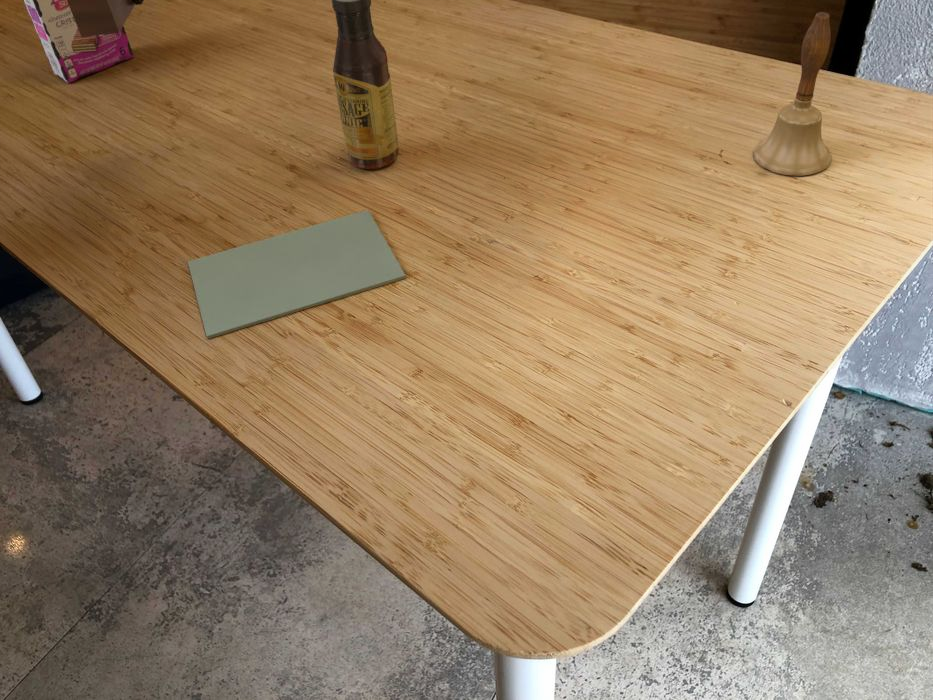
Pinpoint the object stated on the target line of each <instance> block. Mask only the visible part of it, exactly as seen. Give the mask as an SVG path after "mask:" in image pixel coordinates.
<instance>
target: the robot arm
mask: <svg viewBox="0 0 933 700" xmlns="http://www.w3.org/2000/svg"><path fill="white" fill-rule="evenodd" d="M144 1H145V0H133V3H134V4H135V6H138V5H142V4H143V3H144Z"/></svg>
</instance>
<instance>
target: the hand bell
mask: <svg viewBox="0 0 933 700" xmlns="http://www.w3.org/2000/svg"><path fill="white" fill-rule="evenodd" d="M830 45H831V25H830V14H829V13H828V12H826V11H825V12H824V11H819V12H817V13H816V14H815V16H814V18H813V20H812V22H811V24H810V25H809V27H808V28H807V31H806V33H805V35H804V37H803V40H802V45H801V52H800V65H801V75H800V80H799V82H798V87H797V91H796V94H795V98H794V102H793V103H790V104H787V105H784V106H783V107H782V108H780V110H779V111H778V114H777V117H776V120H775V123H774V126H773V128H772V130H771V131H770V133H769V134H768V135H767V136H766V137H765V138H764V139H761V140H760V141H759V142H758V143H757V145H756V146H755V147H754V149H753V153H752V155H753V159H754V161H755V162H756V163H757V164H758V165H759V166H760V167H762V168H764V169H766V170H768V171H770V172H773V173H775V174H780V175H784V176H798V177H799V176H800V177H802V176H809V175H810V176H811V175H814V174H819V173H820V172H822V171H824V170H826V169H827V168H828V167H829V166H830V165H831V163H832V159H833V155H832V153H831V151H830V149H829V147H828V146H827V145H826V144H825V142H824V140H823V136H822V122H823V114H822V111H821V110H820V109H819V108H817V107H815V106H813V105H812V102H813V101H812V100H813V98H814V91H815V87H816V82H817V77H818V74H819V72H820V70H821V69H822V66H824V62H825V61H826V58H827V56H828V54H829V53H828V52H829V49H830Z"/></svg>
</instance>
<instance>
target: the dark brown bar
mask: <svg viewBox="0 0 933 700" xmlns="http://www.w3.org/2000/svg"><path fill="white" fill-rule="evenodd" d="M67 2H68V4H69V7H70V9H71V12H72V14H73V17H74V19H75V22H76V24H77V27H78V29H79V32H80V34H81V37H86V36H95V35H105V34H115V33H119V32H120V30H121V28H122V27H123V26H124V25H125V23H126V22H127V20H128V18H129V16H130V15H131V13H132V11H133V10H134V8H135V6H136V4H134V3H133V0H67Z"/></svg>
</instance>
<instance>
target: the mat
mask: <svg viewBox="0 0 933 700" xmlns="http://www.w3.org/2000/svg"><path fill="white" fill-rule="evenodd" d="M187 264H188V268H189V272H190V276H191V280H192V284H193V288H194V292H195V296H196V300H197V304H198V308H199V312H200V316H201V321H202V323H203V327H204V332H205V336H206V339H207V340H209V339H213V338H217V337H220V336H222V335H226V334H230V333H233V332H235V331H238V330H239V331H240V330H242V329H246V328H248V327H251V326H255V325H258V324H260V323H261V324H262V323H264V322H268V321H271V320H274V319H278V318H280V317H285V316H287V315H291V314H294V313H297V312H300V311H304V310H307V309H310V308H314V307H317V306H320V305H324V304H327V303H330V302H334V301H337V300H339V299H343V298H346V297H350V296H353V295H356V294H359V293H362V292H366V291H369V290H372V289H376V288H379V287H382V286H385V285H388V284H392V283H395V282H398V281H402V280H405V279H407V276H406V273H405V271H404V270H403V268H402V266H401V265H400V262H399V261H398V259H397V257H396V256H395V253H394V252H393V251H392V249H391V247H390V246H389V243H388V242H387V240H386V238H385V236H384V235H383V233H382V231H381V229H380V227H379V226H378V224H377V222H376V220H375V219H374V217H373V216H372V213H371V211H370V210H369V209H366V210H361V211H359V212H356V213H351V214H348V215H345V216H342V217H338V218H333V219H331V220H327V221H324V222H320V223H317V224H314V225H310V226H306V227H303V228H299V229H296V230H292V231H288V232H285V233H281V234H278V235H275V236H272V237H268V238H264V239H261V240H257V241H253V242H251V243H247V244H244V245H240V246H237V247H233V248H229V249H226V250H222V251H219V252H215V253H212V254H208V255H205V256H202V257H197V258H194V259H191V260H187Z"/></svg>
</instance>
